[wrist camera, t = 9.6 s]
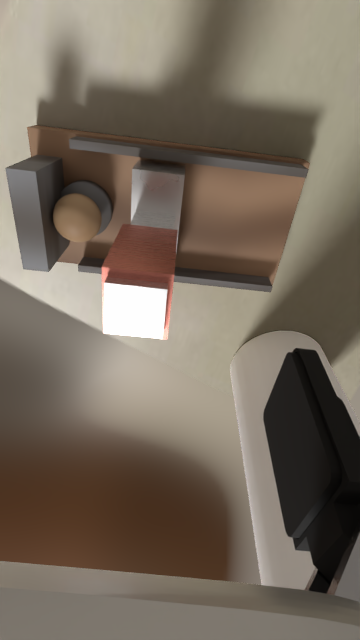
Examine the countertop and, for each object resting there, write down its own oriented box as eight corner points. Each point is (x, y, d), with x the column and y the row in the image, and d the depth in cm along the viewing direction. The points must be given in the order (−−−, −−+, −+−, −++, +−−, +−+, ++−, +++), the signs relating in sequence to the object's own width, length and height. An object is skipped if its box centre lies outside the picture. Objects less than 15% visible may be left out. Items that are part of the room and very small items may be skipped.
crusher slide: (138, 159, 21) (93, 222, 11) (185, 165, 21) (182, 232, 11) (135, 260, 25) (99, 372, 15) (174, 264, 25) (165, 378, 15)
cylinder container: (343, 365, 33) (790, 1157, 9) (271, 411, 37) (431, 1032, 13) (283, 313, 30) (735, 1375, 5) (211, 370, 34) (269, 1108, 9)
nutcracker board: (36, 125, 22) (-9, 135, 17) (303, 159, 23) (335, 178, 18) (51, 252, 27) (20, 288, 22) (268, 276, 28) (286, 316, 23)
